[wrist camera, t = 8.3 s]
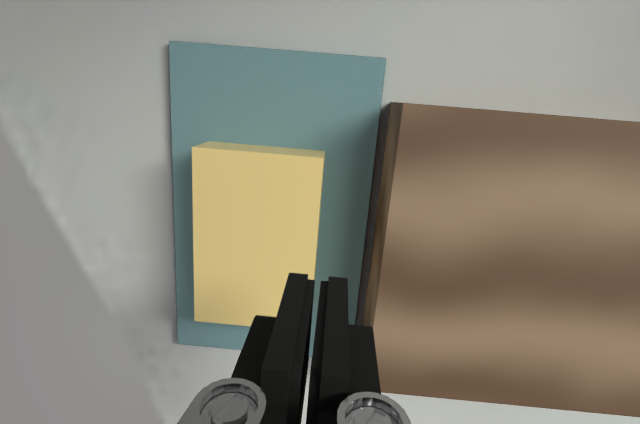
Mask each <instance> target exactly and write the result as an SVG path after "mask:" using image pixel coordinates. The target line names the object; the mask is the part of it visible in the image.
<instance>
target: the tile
mask: <svg viewBox="0 0 640 424" xmlns="http://www.w3.org/2000/svg"><path fill="white" fill-rule="evenodd" d="M324 162H325V151H319V150H307V149H296V148H284V147H272V146H260V145H248V144H236V143H224V142H213V141H209V142H205V143H202V144H199V145H196V146H193V147H192V192H193V257H194V321H199V322H210V323H220V324H231V325H242V326H251V324H252V322H253V319H254V317H255V316H256V315H261V316H271V317H276V316H277V313H278V309H279V306H280V302H281V299H282V296H283V292H284V289H285V285H286V282H287V278H288V275H289V273H300V274H308V279H310V280H315V272H316V259H317V247H318V235H319V223H320V211H321V199H322V186H323V174H324Z"/></svg>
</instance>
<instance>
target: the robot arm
mask: <svg viewBox="0 0 640 424" xmlns="http://www.w3.org/2000/svg"><path fill="white" fill-rule="evenodd" d="M314 287H315V280H310V279H308V274H300V273H289V275H288V278H287V282H286V285H285V289H284V292H283V296H282V299H281V302H280V306H279V309H278V313H277V316H276V317H271V316H261V315H256V316H255V317H254V319H253V322H252V324H251V327H250V330H249V332H248V335H247V337H246V340H245V343H244V345H243V348H242V350H241V353H240V356H239V358H238V361H237V364H236V366H235V369H234V371H233V374H232V377H231V378H227V379H221V380H218V381H216V382H213V383H211V384H209V385H208V386H206V387H205V388H203V389H202V390H201V391H200V392H199V393H198V394H197V395H196V397H195V398H194V400H193V401H192V402H191V404H190V405H189V407H188V408H187V410H186V411H185V413H184V414H183V416H182V417H181V419H180V420H179V422H178V423H177V424H301V418H302V410H303V402H304V394H305V386H306V378H307V370H308V360H309V348H310V336H311V323H312V311H313V299H314ZM306 424H411V422H410V419H409V417H408V416H407V414H406V412H405V410H404V409H403V408H402V407H401V406H400V405H399V404H398V403H397V402H396V401H394V400H392V399H391V398H389V397H387V396H385V395H382V394H381V389H380V381H379V373H378V365H377V357H376V348H375V340H374V332H373V327H372V326H362V325H352V324H349V317H348V278H341V277H331V276H329V279H328V281H321V284H320V293H319V302H318V311H317V319H316V328H315V337H314V346H313V355H312V363H311V373H310V383H309V395H308V407H307V419H306Z"/></svg>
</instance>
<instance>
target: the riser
mask: <svg viewBox="0 0 640 424" xmlns="http://www.w3.org/2000/svg"><path fill="white" fill-rule="evenodd" d="M362 326H372V327H373V332H374V340H375V348H376V357H377V365H378V373H379V381H380V389H381V392H384V393H394V394H405V395H415V396H425V397H436V398H446V399H457V400H467V401H477V402H488V403H498V404H508V405H519V406H529V407H539V408H550V409H560V410H571V411H581V412H591V413H602V414H612V415H622V416H633V417H640V122H631V121H619V120H606V119H594V118H582V117H570V116H557V115H545V114H533V113H521V112H508V111H496V110H484V109H472V108H459V107H447V106H435V105H423V104H410V103H395V102H390V109H389V117H388V125H387V133H386V141H385V149H384V157H383V165H382V173H381V181H380V189H379V197H378V205H377V213H376V221H375V229H374V237H373V245H372V253H371V261H370V269H369V277H368V285H367V293H366V301H365V309H364V317H363V325H362Z"/></svg>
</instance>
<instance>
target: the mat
mask: <svg viewBox="0 0 640 424" xmlns="http://www.w3.org/2000/svg"><path fill="white" fill-rule="evenodd" d="M169 64H170V98H171V131H172V165H173V198H174V232H175V266H176V299H177V333H178V344H184V345H195V346H205V347H216V348H226V349H237V350H242V348H243V345H244V343H245V340H246V337H247V335H248V332H249V330H250V327H251V326H242V325H231V324H220V323H210V322H199V321H194V257H193V192H192V147H193V146H196V145H199V144H202V143H205V142H209V141H213V142H224V143H236V144H248V145H260V146H272V147H284V148H296V149H307V150H319V151H325V162H324V174H323V186H322V199H321V211H320V223H319V235H318V247H317V259H316V272H315V287H314V299H313V311H312V323H311V336H310V348H309V356H311V357H312V355H313V346H314V337H315V328H316V319H317V311H318V302H319V293H320V284H321V281H328V279H329V276H331V277H341V278H348V317H349V324H352V325H355V319H356V310H357V302H358V293H359V285H360V277H361V268H362V260H363V251H364V243H365V234H366V226H367V217H368V209H369V201H370V192H371V184H372V175H373V167H374V158H375V150H376V141H377V133H378V125H379V116H380V108H381V99H382V91H383V82H384V74H385V66H386V58H380V57H367V56H355V55H342V54H330V53H317V52H304V51H292V50H279V49H267V48H254V47H241V46H229V45H216V44H204V43H191V42H179V41H169Z"/></svg>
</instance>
